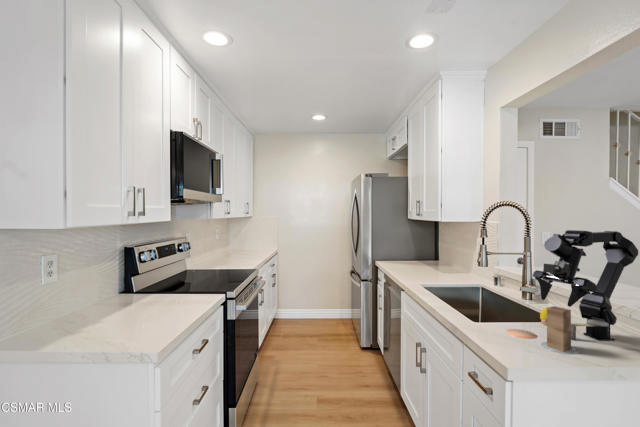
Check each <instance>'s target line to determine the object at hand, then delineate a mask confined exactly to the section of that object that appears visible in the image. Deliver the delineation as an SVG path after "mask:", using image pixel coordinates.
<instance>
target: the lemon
mask: <svg viewBox="0 0 640 427" xmlns="http://www.w3.org/2000/svg"><path fill="white" fill-rule="evenodd" d="M549 307H550V306H547V307H544V308H542V309H541V310H540V313H539V318H540V320H545V319H547V308H549Z"/></svg>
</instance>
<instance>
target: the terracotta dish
mask: <svg viewBox="0 0 640 427" xmlns="http://www.w3.org/2000/svg"><path fill="white" fill-rule="evenodd" d="M505 333H506V334H507V335H509V336H511V337H515V338H519V339H525V340H526V339H527V340H534V339H537V338H538V335H537V334H535V333H534V332H532V331H528V330H524V329H517V328H509V329H506V330H505Z"/></svg>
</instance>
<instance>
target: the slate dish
mask: <svg viewBox="0 0 640 427" xmlns="http://www.w3.org/2000/svg"><path fill="white" fill-rule="evenodd" d="M540 346H541V347H542V348H543V349H545V350H547V351H550V352H554V353H557V354H561V355H562V354H563V355H577V354H579V350H578V349H576V347H573V346H571V349H570V350H567V351H565V352H562V351H559V350H556V349H553V348H550V347H547V341H543V342H541V343H540Z"/></svg>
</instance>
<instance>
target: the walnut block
mask: <svg viewBox="0 0 640 427" xmlns="http://www.w3.org/2000/svg"><path fill="white" fill-rule="evenodd" d="M548 307H549V308H547V307H546V308H547V325H546V342H547V347H550V348H553V349H556V350H559V351H562V352H565V351H567V350H570V349H571V347H572V340H571V324H572V310H571V309H569V308H566V307H565V308H564V307H560V306H555V305H554V306H548Z"/></svg>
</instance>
